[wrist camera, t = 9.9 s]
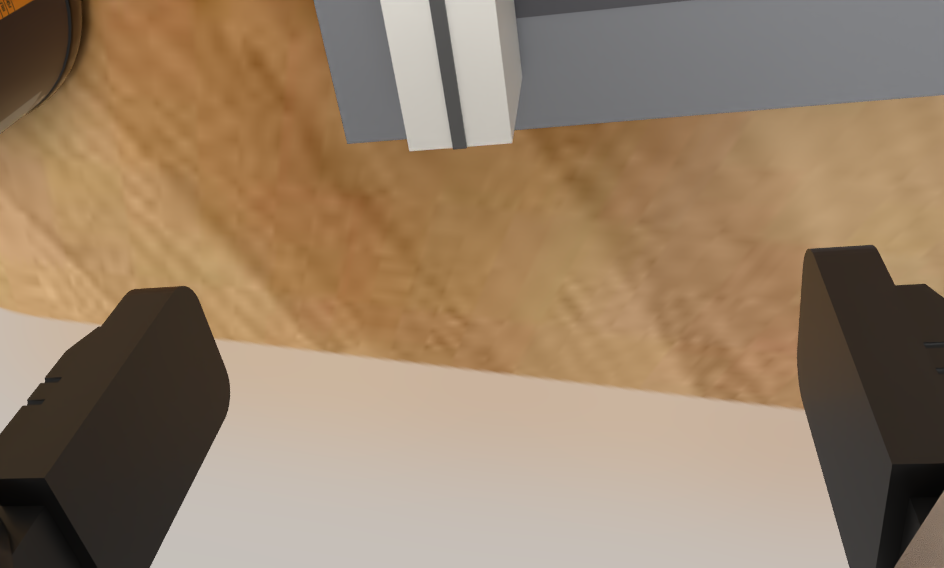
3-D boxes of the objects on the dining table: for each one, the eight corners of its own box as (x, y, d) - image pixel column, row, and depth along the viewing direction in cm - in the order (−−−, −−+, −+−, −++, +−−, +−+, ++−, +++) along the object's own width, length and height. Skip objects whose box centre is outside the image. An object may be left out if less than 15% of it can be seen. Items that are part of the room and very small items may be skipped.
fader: (505, -82, 26) (489, -37, 22) (522, 77, 29) (511, 144, 25) (407, -71, 27) (374, -23, 22) (433, 85, 29) (408, 153, 25)
